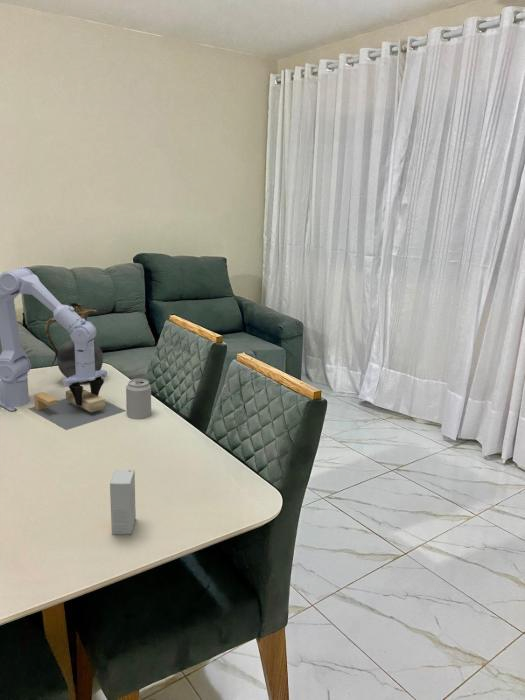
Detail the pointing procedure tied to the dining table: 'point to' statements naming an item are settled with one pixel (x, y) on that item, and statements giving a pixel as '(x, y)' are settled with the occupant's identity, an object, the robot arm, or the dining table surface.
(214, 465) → the dining table surface
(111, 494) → the skincare box
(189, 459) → the dining table surface
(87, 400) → the oak link
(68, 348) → the pitcher
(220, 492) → the dining table surface
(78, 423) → the slate board
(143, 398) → the can
